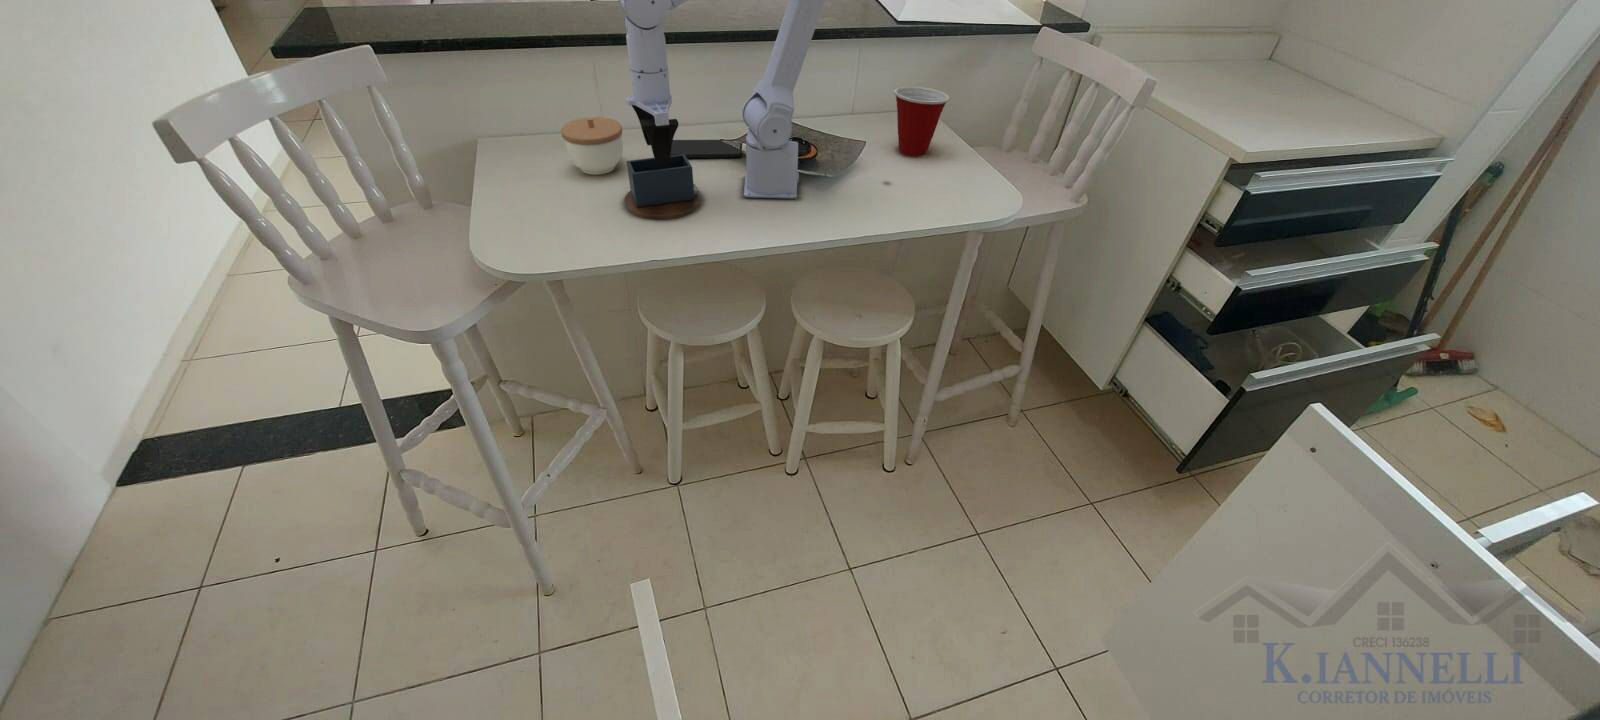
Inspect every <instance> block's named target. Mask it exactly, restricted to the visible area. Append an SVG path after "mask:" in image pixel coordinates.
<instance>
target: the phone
mask: <svg viewBox="0 0 1600 720" xmlns="http://www.w3.org/2000/svg"><path fill="white" fill-rule="evenodd" d="M723 140H724V139H673V141H672V147H671V156H673V155H681V154H685V156H686V158H687V159H690V158H691V159H693V158H694V159H696V158H697V159H698V158H700V159H701V158H702V159H703V158H704V159H705V158H707V159H709V158H740V157H742V149H741V150H740V149H738V148H736V147H733V146H732V145H729V144H727V143H724V142H722V141H723ZM726 140H727V141H733V140H734V139H726Z"/></svg>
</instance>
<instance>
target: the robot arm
mask: <svg viewBox="0 0 1600 720" xmlns="http://www.w3.org/2000/svg"><path fill="white" fill-rule="evenodd" d="M687 1H688V0H618V3H619V4H618V5H619V6H620V8H621V10H622V11H623V12H624V14H625V15H624V21H625V23H624V26H625V31H626V35H625V39H626V48H627V55H628V63H629V71H630V79H631V88H632V89H631V90H632V95H631V96H626V97H625V102H626V104H627V106H631V107H632V109H633V111H634V112H635V114H636V116H637V119H638V121H639V125H640V128H641V131H642V135H643V138H644V141H645V143H646V145H647V146H650V147H651V151H652V154H653V158H655V160H656V163H657V164H660V163H668V162H669V161H670V156H671V147H672V141H673V140H674V137H675V134H676V133H677V130H678V128H679V120H678V119H677V118H670V116H669V111H670V108H671V105H672V102H673V98H672V97H673V96H672V95H671V89H670V78H669V67H668V55H667V54H668V53H667V45H666V44H667V43H666V35H665V34H664V33H665V32H664V23H663V22H664V21H665V19H666V16H667V13H668V11H673V10H674V9H675V8H677V7H679V6H680V5H682V4H684V3H685V2H687ZM825 3H826V0H788V2H787V5H786V9H785V10H784V15H783V18H782V19H781V20H782V21H781V24H780V27H779V30H778V33H777V36H776V39H775V42H774V44H773V48H772V51H771V54H770V58H769V60H768V63H767V66H766V69H765V73H764V76H763V78H762V79H761V80H760V81H759V82H757V83H756V84H755V86H754V89H753V92H752V94H751V95H750V96H749V98H748V99H746V101H745V102H744V104H743V106H742V111H741V117H742V121H743V122H744V124H745V126H746V127H748V131H747V133H746V135H745V136H746V137H745V159H746V160H745V161H746V162H745V164H746V167H745V169H746V176H745V177H744V189H743V197H744V198H758V199H759V198H760V199H796V198H798V184H799V183H800V173H799V171H798V170H799V169H798V168H799V142H798V141H793V140H790V138H791V136H792V133H793V123H792V121H793V116H794V112H795V101H794V91H795V87H796V84H797V81H798V79H799V76H800V73H801V70H802V67H803V64H804V61H805V58H806V56H807V53H808V50H809V47H810V44H811V43H812V39H813V36H814V33H815V32H816V31H815V30H816V28H817V26H818V22H819V20H820V16H821V15H822V14H821V13H822V11H823V8H824V5H825Z"/></svg>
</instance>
